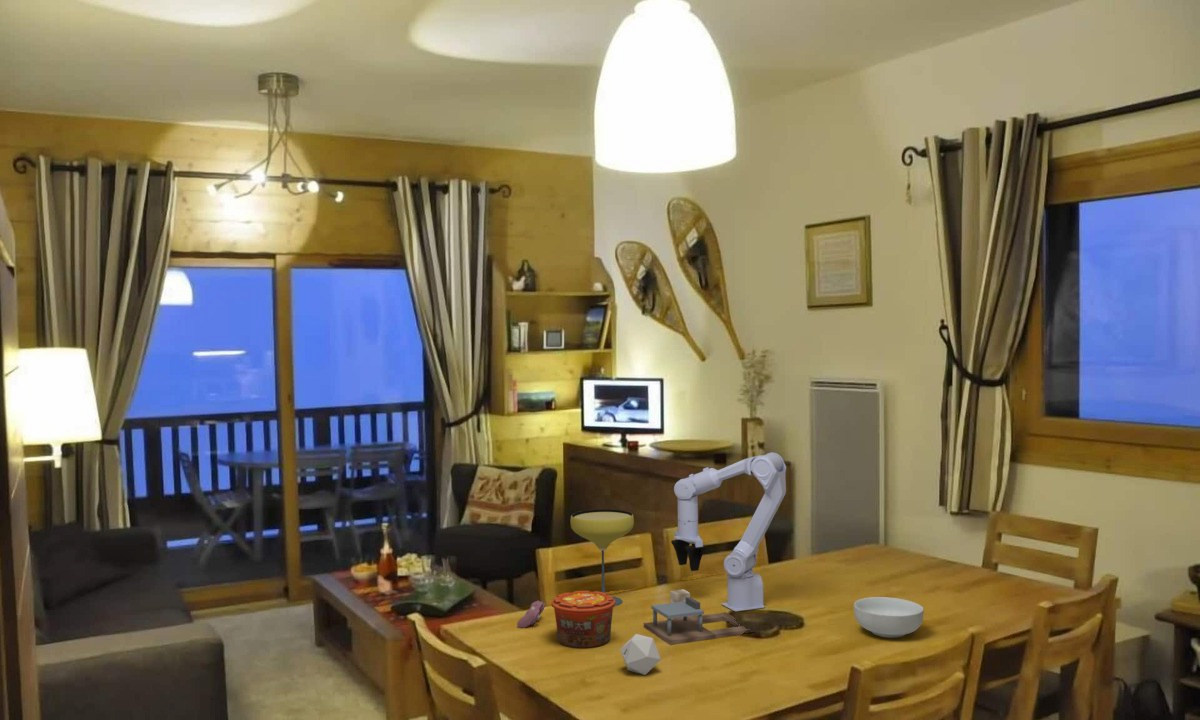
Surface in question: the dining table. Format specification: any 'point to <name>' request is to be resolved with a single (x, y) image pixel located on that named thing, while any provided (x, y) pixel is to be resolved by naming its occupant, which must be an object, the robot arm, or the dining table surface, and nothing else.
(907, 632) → the cereal bowl
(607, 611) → the food container
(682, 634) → the puzzle board
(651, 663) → the die
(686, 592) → the block
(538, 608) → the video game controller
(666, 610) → the grey miniature stool
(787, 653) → the dining table surface
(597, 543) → the cocktail glass
